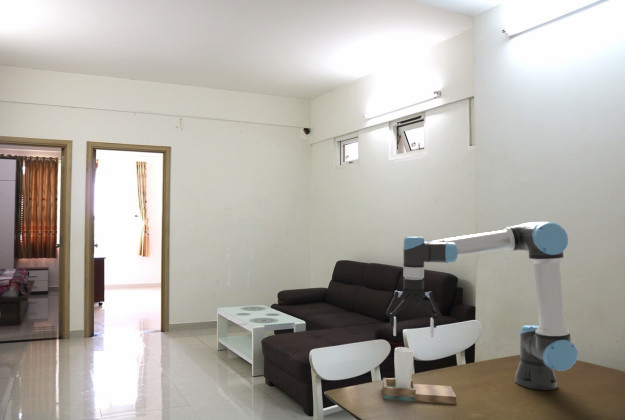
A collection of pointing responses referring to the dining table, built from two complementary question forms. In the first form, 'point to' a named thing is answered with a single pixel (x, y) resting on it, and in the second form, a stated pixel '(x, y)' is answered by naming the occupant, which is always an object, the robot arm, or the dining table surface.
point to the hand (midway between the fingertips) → (413, 335)
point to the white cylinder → (403, 366)
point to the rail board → (418, 392)
